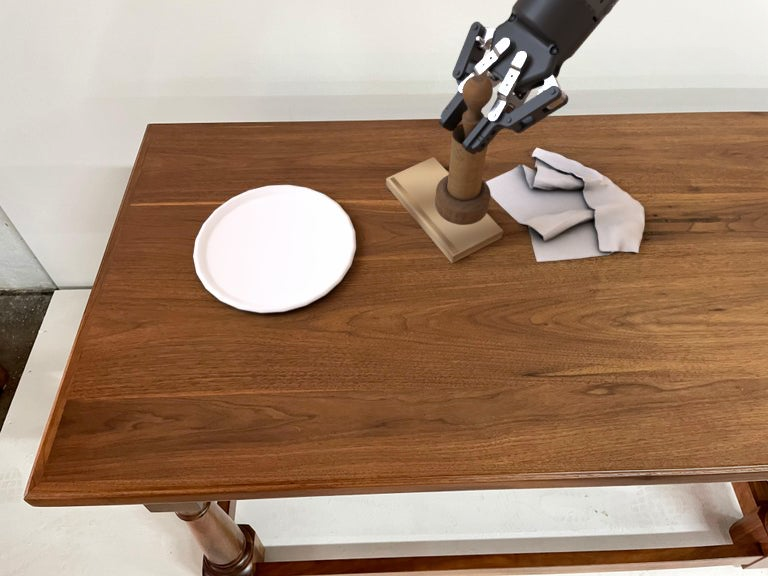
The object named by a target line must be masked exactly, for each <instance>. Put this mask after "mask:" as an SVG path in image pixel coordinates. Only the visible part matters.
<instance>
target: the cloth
mask: <svg viewBox="0 0 768 576" xmlns="http://www.w3.org/2000/svg"><path fill="white" fill-rule="evenodd" d="M531 158H536V159H535V165H534V169H532V168H530V167H528V166H527V165H525V164H519V165H517V166H516V167H514V168H513V169H510V170H509V171H507V172H504V173H502V174H499V175H497V176H495V177H493V178H491V179H489V180H487V181H485V182H486V183H487V185H488V187H489V189H490V193H491V196H490V198H492V199H493V200H494V201H495V202H496V203H497V204H498V205H499V206H500V207H501V208H502V209H503V210H504V211H505V212H506V213H508V214H509V216H510V217H511V218H513V220H515V221H516V222H517V223H518V224H521V225H526V226H528V231H529V235H530V239H531V244H532V249H533V253H534V256H535V260H536V263H544V262H558V261H560V262H561V261H571V260H579V259H587V258H589V259H590V258H597V257H606V256H610V255H612V254H613V253H614V252H626V253H631V252H632V253H635V254H639V250H640V247H641V243H642V240H643V233H644V231H645V222H646V221H645V220H646V215H645V206H644V205H643V204H642V203H641V202H640V201H639V200H637V199H634V198H633V197H632V195H630V194H629V193H628V192H626V191H624V190H623V189H622V188H620V187H619V186H618V185H617V184H615V183H614V182H613V181H612V180H611V179H610V178H609V177H607V176H605V175H604V174H601V173H600V172H598V171H597V170H596V169H594V168H590V167H587V166H585V165H583V164H582V163H580V162H579V161H576V160H574V159H570V158H567V157H565V156H563V154H559V153H557V152H553V151H548V150H546V149H543V148H539V147H536V148H535V149H534V151H533V152H532V154H531ZM535 169H537V170H535Z"/></svg>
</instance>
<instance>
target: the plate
mask: <svg viewBox="0 0 768 576" xmlns="http://www.w3.org/2000/svg"><path fill="white" fill-rule="evenodd" d="M356 251H357V240H356V230H355V228H354V225H353V223H352V220H351V218H350V216H349V214H348V213H347V212H346V211H345V210H344V209H343V208H342V206H341V205H340V204H339V203H338V202H336V201H335V200H333V199H332V198H331V197H329V196H328V195H326V194H324V193H322V192H321V191H317V190H314V189H312V188H309V187H305V186H299V185H292V184H278V185H276V184H275V185H265V186H261V187H258V188H253V189H249V190H246V191H245V192H242V193H240V194H237V195H235V196H234V197H232V198H230V199H229V200H227V201H226V202H224V203H223V204H221V205H220V206H219V207H217V208H216V209H215V210H214V211H213V212H212V213H211V215H209V217H208V218H207V219H206V220H205V222H204V223H202V226H201V228H200V230H199V231H198V234H197V235H196V238H195V242H194V248H193V262H194V267H195V272H196V275H197V276H198V278H199V280H200V281H201V283H202V285H203V286H204V288H205V289H206V290H207V291H208V292H209V293H210V294H212V296H214V298H216V299H217V300H218V301H219V302H221V303H224V304H225V305H228V306H229V307H230V306H231V307H233V308H235V309H237V310H239V311H244V312H250V313H257V314H276V313H285V312H289V311H292V310H293V311H294V310H296V309H299V308H303V307H307V306H309V305H311V304H312V303H314V302H316V301H317V300H319V299H322V298H324V297H326V296H327V295H328V294H329V293H330V292H331V291H332V290H333V289H335V287H337V286H338V285H339V284H340V283H341V282H342V281H343V280H344V278H345V276H346V274H347V273H348V271H349V270H350V268H351V267H352V264H353V260H354V257H355V253H356Z"/></svg>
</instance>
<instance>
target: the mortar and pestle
mask: <svg viewBox="0 0 768 576" xmlns="http://www.w3.org/2000/svg"><path fill="white" fill-rule="evenodd" d="M493 94H494V88H493V87H492V84H491V82H490V80H489V79H488V78H486V77H484V76H481V75H475V76H472V77H470V78H469V79H467V81H466V82H465V83H464V85H463V89H462V95H463V99H464V101H465V103H466V105H467V107H468V110H467V111H465V112H464V113H463V116H462V123H461V124H458V126H457V127H456V128H455V129H454V130H453V131H452V133H451V145H450V154H449V155H450V156H449V168H448V173H449V175H447V176H446V177H444V178H443V179H442V180H441V181H440V182H439V183H438V185H437V188H436V197H435V206H436V209H437V212H438V213H439V214H440V216H441V217H442V218H444V219H445V220H447V221H448V222H451V223H454V224H458V225H469V224H474V223H476V222H478V221H480V220H481V219H482V218H484V216H485V215H486V214H488V211H489V209H490V208H489V207H490V202H491V193H490V189H489V187H488V185H487V183H486V182H487V181H485V180H484V179H483V176H484V170H485V164H486V159H487V158H486V157H487V153H488V146H489V144H488V145H487V147H486V148H485V149H484V150H483V151H481V152H480V153H479V152H477V153H476V154H471V153H469V152H467V151H466V150H465V149H464V148H463V147H462V143H463V142H464V141H465V139H466V138H467V137H468V136H469V134H470V133H471V132H472V131H473V129H474V128H475V127H476V126H477V124H478V123H479V122H480V121H481V120H482V118H483V117H485V115H484V113H483V112H482V110H483V108H485V107H486V106H487V104H489V102H490V101H491V99H492V98H493Z"/></svg>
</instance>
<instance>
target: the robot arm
mask: <svg viewBox="0 0 768 576" xmlns="http://www.w3.org/2000/svg"><path fill="white" fill-rule="evenodd" d="M619 1H620V0H516V1H515V2H514V4H513V5H512V7H511V13H510V15H509V17H508V18H507V19H506V20H505V21H504V22H502V23H500V24H499V25H497V26H496V28H492V27H488V26H484V25H483V24H482V23H481V22H480V21H474V22H473V23H471V25H470V28H469V30H468V32H467V35H466V37H465V40H464V42H463V45H462V47H461V50H460V52H459V55H458V57H457V60H456V62H455V65H454V68H453V70H452V74H451V75H452V78H453V79H454V80H455V81H456V83H457V86H458V89H457V92H456V94H454V96H453V97H452V99H451V100H450V101H449V102H448V103H447V105H446V106H445V107H444V109H443V110H442V112H441V114H440V119H439V121H438V123H439V125H440V126H441V127H442V128H443V129H445V130H447V131H448V132H453V130H454V129H455V128H456V127H457V126H459V125H460V123H461V122H463V120H462V116H463V113H464V112H465V111H467V110H468V107H467V105H466V103H465V101H464V99H463V95H462V89H463V85H464V83H465V82H466V81H467V79H469V78H470V77H472V76H475V75H481V76H484V77H486V78H488V79H489V80H490V82H491V84H492V87H493V89H494V88H496V87H497V86H499V88H498V90H497V93H496V99H495V101H494V102H493V104H492V106H491V108H490V109H489V112H488V114H487V117H486V116H484V117H483V118H482V120H481V121H480V122H479V123H478V124H477V126H476V127H475V128H474V129H473V131H472V132H471V133H470V134H469V136H468V137H467V138H466V139H465V141H464V142H463V143H462V147H463V148H464V149H465V150H466V151H467V152H469V153H471V154H476V153H477V152H479V153H480V152H481V151H483V150H484V149H485V148H486V147H487V145H488V146H489V145H490V143H491V142H492V141H493V140H494V138H495V137H496V136H497V135H498V133H500V132H501V131H502V130H504V129H506V130H509V131H513V132H514V133H516V134H522V133H523V132H524V131H526V130H529V128H531V127H533V126H534V125H536V124H538V123H539V122H541V121H543V119H545V118H547V117H548V116H550V115H552V114H553V113H556V112H557V111H558V110H560V109H561V108H563V107H564V106H566V105H567V104H568V102H569V96H568V94H566V92H565V91H563V89H562V87H561V85H560V83H559V80H558V77H559V75H560V72H561V68H562V66H563V65H564V63H565V62H566V61H567V60H568V59H571V58H572V57H573V56H574V55H575V54H576V53H577V51H578V50H579V49H580V48H581V47H582V45H583V44H584V43H585V42H586V41H587V39H588V38H589V37H590V36H591V34H593V32H594V31H595V30H596V28H597V27H598V26H599V25H600V24H601V23H602V22H603V20H604V19H605V18H606V17H607V15H609V14H610V13H611V12H612V10H613V8H615V6H616V5H617V3H619ZM487 51H489V53H487V54H486V52H487ZM485 54H486V55H485ZM499 84H500V85H499ZM540 87H541V88H540ZM538 88H539V89H538ZM536 89H538V90H537V95H535V96H534V97H532V98H531V99H529V100H527V99H528V97H529V95H530V93H531V92H532V91H533V90H536ZM487 148H488V147H487Z"/></svg>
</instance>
